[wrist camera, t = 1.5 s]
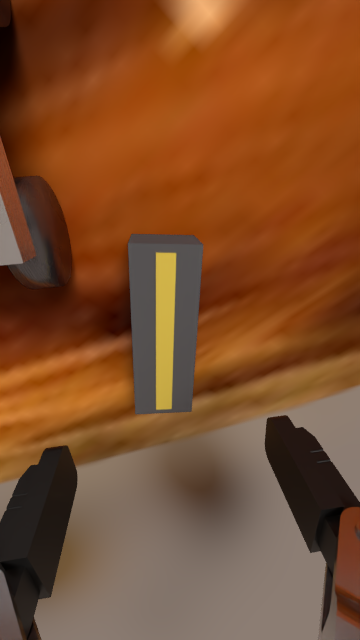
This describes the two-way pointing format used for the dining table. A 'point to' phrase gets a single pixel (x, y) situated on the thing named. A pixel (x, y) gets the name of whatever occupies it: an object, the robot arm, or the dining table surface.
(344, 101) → the dining table surface
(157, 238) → the block
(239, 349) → the dining table surface
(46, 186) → the trolley
